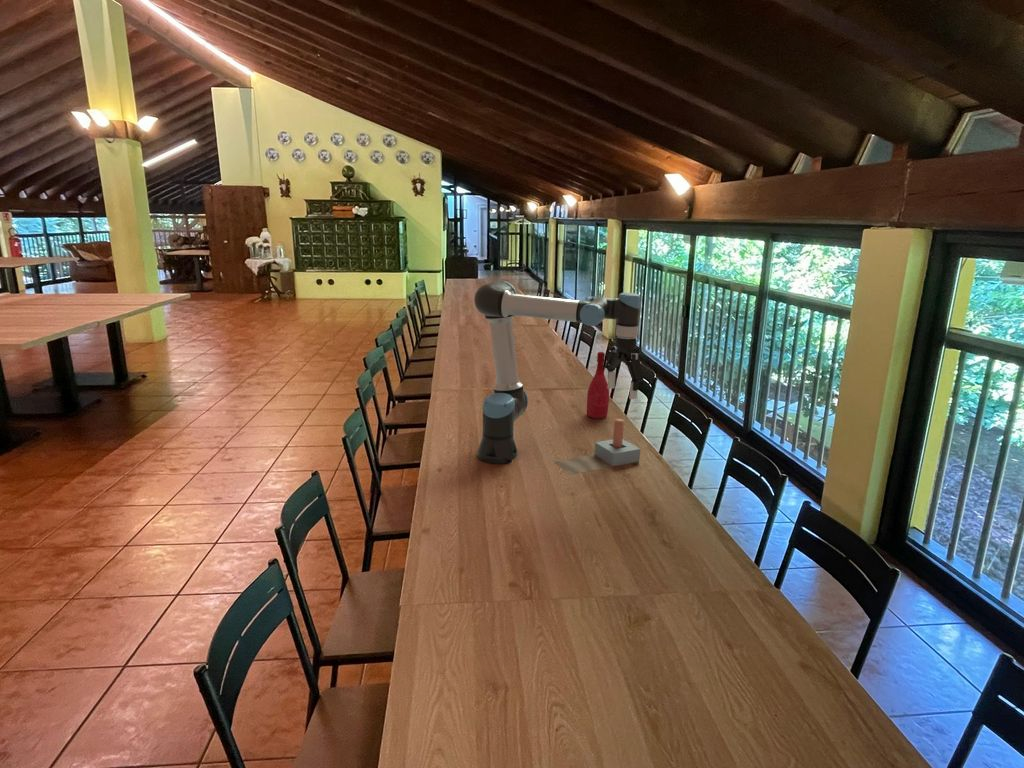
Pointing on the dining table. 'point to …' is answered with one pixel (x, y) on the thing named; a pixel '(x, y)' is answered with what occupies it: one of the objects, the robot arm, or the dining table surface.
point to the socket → (617, 452)
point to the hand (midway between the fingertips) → (621, 393)
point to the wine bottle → (598, 392)
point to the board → (584, 464)
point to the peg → (618, 433)
